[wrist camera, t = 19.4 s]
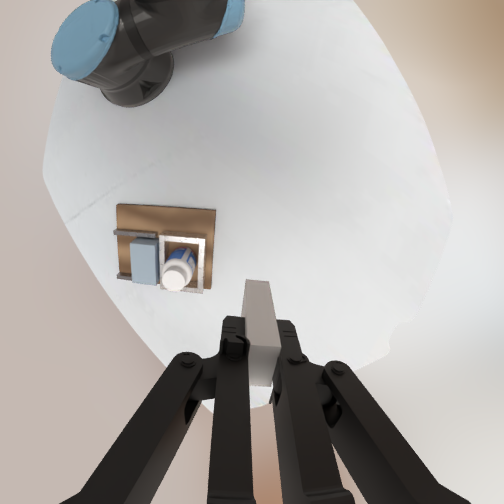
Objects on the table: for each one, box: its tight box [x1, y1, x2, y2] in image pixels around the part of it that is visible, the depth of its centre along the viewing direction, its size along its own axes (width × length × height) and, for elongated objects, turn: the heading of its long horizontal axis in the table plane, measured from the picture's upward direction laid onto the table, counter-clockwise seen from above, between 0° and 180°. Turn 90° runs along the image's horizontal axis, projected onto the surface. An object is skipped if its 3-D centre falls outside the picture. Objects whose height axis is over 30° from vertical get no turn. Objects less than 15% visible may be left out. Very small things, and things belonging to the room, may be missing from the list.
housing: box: [130, 237, 160, 286], centre depth 49 cm, size 8×5×4 cm, turn 174°
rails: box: [114, 228, 158, 281], centre depth 51 cm, size 10×9×2 cm
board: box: [116, 204, 216, 289], centre depth 52 cm, size 16×20×1 cm
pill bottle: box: [162, 247, 197, 292], centre depth 48 cm, size 6×5×10 cm
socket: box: [159, 231, 207, 294], centre depth 51 cm, size 11×8×3 cm
